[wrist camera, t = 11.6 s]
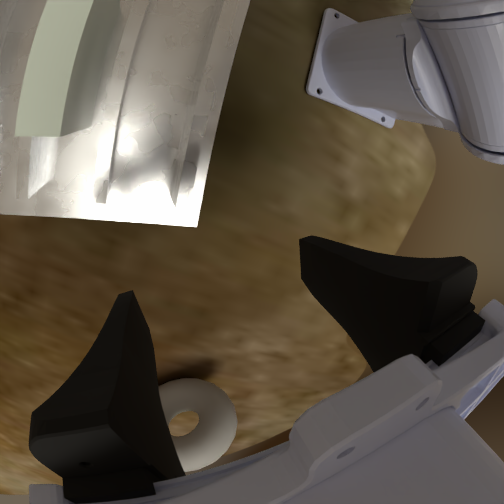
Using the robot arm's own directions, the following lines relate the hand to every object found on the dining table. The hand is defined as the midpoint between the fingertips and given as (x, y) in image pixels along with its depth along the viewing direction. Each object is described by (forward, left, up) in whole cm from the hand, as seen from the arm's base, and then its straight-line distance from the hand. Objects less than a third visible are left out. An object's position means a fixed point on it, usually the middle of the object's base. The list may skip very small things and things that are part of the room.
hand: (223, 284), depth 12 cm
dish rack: (+8, -9, -10) cm, 16 cm away
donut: (-1, +18, -11) cm, 21 cm away
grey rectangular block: (+8, -9, -9) cm, 15 cm away
